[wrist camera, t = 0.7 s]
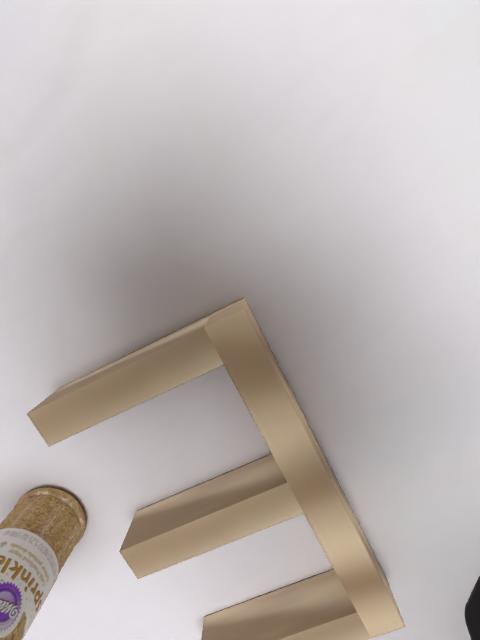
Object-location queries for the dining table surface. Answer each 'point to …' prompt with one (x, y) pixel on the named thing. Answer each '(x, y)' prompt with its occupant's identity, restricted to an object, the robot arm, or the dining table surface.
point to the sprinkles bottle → (34, 554)
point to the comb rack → (239, 485)
